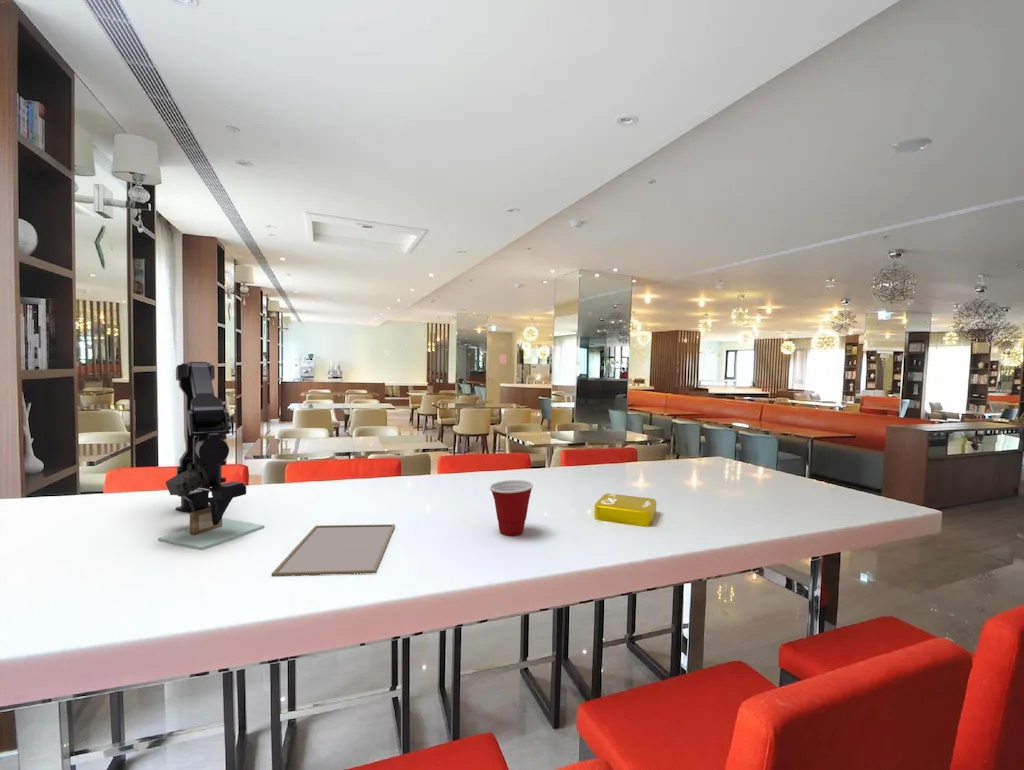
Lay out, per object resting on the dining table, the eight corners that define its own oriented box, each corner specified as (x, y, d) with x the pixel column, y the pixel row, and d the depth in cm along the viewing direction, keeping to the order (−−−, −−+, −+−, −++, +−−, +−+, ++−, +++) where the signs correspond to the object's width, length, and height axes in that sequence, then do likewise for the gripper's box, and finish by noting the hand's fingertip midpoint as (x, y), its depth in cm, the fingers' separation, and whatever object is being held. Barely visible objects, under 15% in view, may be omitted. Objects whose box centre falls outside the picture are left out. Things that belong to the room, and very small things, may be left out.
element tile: (650, 529, 125) (650, 510, 125) (592, 521, 131) (593, 503, 131) (656, 513, 139) (657, 497, 139) (604, 507, 145) (605, 491, 145)
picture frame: (315, 529, 120) (271, 578, 92) (315, 525, 120) (271, 573, 92) (394, 528, 122) (375, 576, 94) (395, 524, 122) (375, 571, 94)
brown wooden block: (189, 534, 112) (189, 512, 111) (217, 525, 118) (217, 505, 118) (194, 535, 111) (194, 513, 111) (222, 526, 117) (222, 505, 117)
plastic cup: (484, 526, 123) (485, 479, 123) (525, 523, 126) (526, 477, 126) (493, 541, 113) (494, 490, 112) (538, 538, 116) (539, 488, 115)
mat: (158, 540, 109) (158, 537, 109) (223, 520, 124) (223, 517, 124) (202, 550, 104) (202, 547, 104) (264, 527, 119) (264, 525, 119)
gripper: (144, 459, 110) (144, 528, 110) (202, 467, 103) (202, 540, 104) (192, 452, 120) (192, 514, 121) (248, 458, 114) (247, 524, 114)
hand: (207, 523), depth 115 cm, fingers open, 5 cm apart
